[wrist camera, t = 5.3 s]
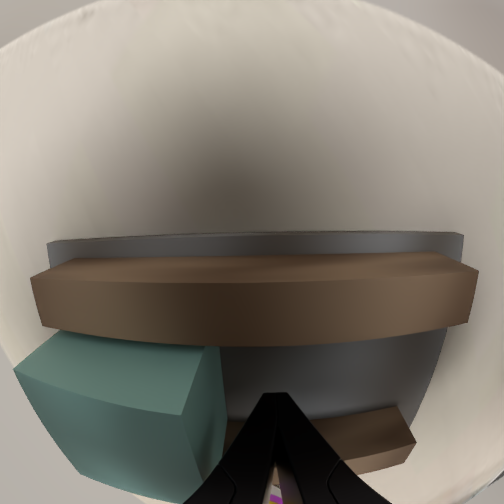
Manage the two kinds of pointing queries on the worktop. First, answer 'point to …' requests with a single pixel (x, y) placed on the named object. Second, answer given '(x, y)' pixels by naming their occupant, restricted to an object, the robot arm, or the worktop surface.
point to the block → (131, 410)
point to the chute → (282, 318)
